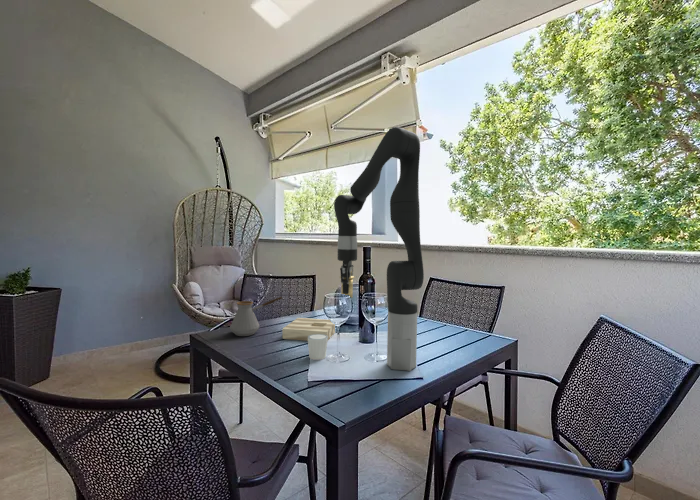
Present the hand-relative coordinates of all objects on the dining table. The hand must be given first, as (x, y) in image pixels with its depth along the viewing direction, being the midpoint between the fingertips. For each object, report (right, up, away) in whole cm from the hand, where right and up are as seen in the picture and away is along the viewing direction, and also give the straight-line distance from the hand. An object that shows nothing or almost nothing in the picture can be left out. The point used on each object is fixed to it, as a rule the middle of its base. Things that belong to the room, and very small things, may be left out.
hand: (347, 292), depth 134 cm
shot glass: (-10, -20, -16) cm, 28 cm away
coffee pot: (-37, -18, +10) cm, 43 cm away
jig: (-15, -18, +10) cm, 26 cm away
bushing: (0, -2, 0) cm, 2 cm away
